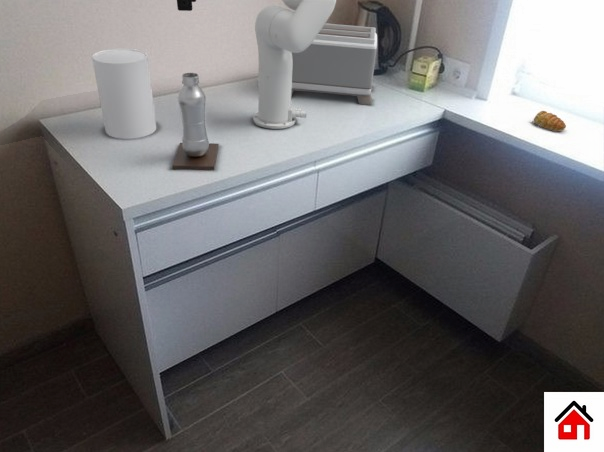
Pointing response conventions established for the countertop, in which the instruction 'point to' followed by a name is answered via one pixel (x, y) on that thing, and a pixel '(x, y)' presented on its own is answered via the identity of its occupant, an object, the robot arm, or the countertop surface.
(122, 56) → the canister
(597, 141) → the countertop surface
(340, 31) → the toaster
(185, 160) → the walnut board
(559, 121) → the pastry
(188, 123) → the silver bottle
